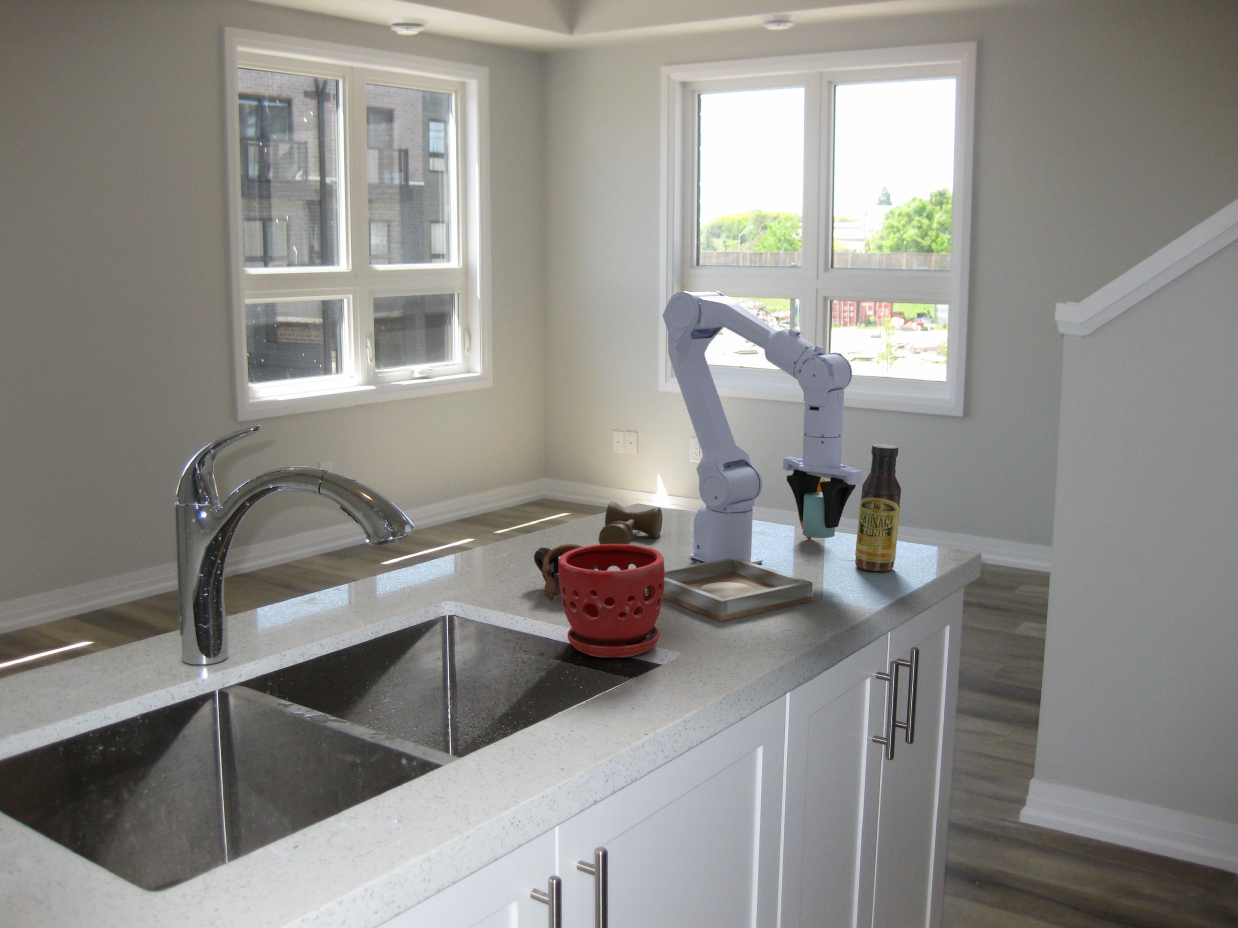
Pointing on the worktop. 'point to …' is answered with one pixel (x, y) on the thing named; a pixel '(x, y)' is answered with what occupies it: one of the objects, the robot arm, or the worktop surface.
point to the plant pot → (612, 598)
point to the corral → (733, 588)
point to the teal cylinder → (815, 517)
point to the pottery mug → (552, 567)
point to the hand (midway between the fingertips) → (818, 523)
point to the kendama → (629, 524)
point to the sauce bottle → (879, 512)
